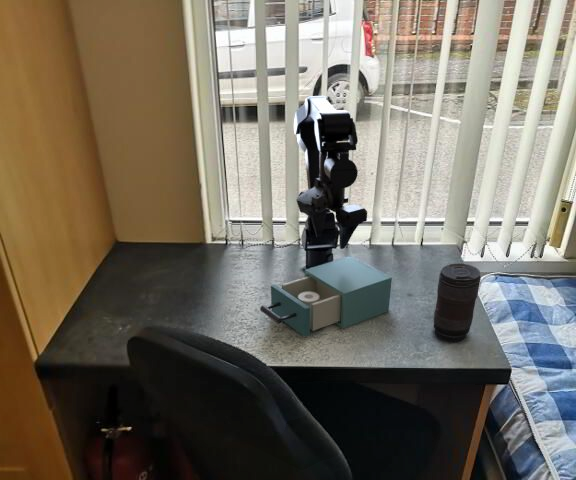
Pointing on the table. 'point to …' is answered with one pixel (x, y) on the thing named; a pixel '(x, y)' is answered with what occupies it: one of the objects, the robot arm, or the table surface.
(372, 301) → the teal cabinet
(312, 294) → the label roll
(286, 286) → the drawer
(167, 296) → the table surface
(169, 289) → the table surface
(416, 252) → the table surface
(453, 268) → the camera lens
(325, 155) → the robot arm
